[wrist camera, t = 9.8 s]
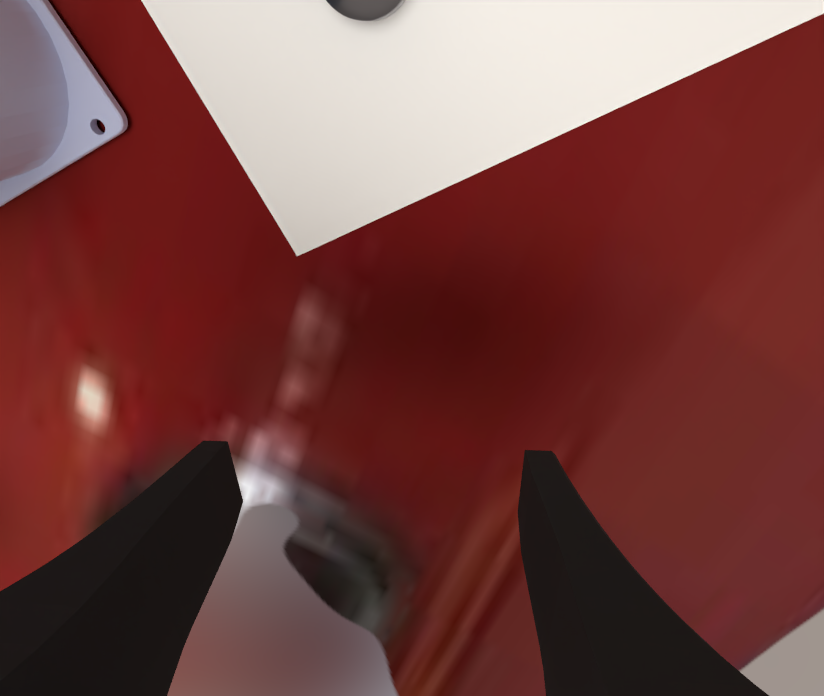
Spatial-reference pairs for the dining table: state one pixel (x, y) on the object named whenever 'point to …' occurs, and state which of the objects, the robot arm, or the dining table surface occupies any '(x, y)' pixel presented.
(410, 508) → the dining table surface
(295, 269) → the dining table surface
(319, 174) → the frame slab
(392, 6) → the bar
